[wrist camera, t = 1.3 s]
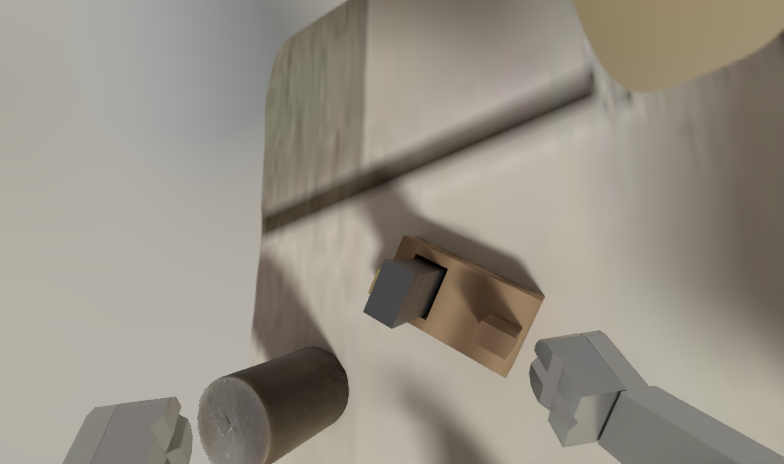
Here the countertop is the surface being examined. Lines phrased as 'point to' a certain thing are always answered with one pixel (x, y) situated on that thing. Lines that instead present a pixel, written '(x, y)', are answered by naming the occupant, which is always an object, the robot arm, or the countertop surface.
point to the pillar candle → (271, 407)
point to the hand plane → (475, 308)
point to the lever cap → (404, 290)
